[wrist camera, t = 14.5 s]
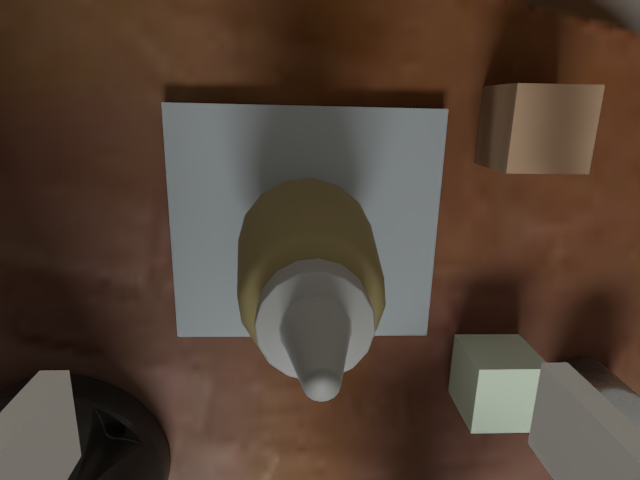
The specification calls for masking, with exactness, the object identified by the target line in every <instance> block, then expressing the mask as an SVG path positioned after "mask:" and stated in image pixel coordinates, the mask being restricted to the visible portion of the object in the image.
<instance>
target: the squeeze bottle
mask: <svg viewBox="0 0 640 480" xmlns="http://www.w3.org/2000/svg"><path fill="white" fill-rule="evenodd" d="M237 299H238V305H239V311H240V317H241V322H242V324H243V325H244V327H245V328H246V330H247V331H248V333H249V334H250V336H251V338H252V339H253V341H254V342H255V344H256V345H258V347H259V349H260V350H261V352H262V353H263V355H264V356H265V358H266V359H267V361H268V362H269V364H271V365H272V366H274V367H275V368H277V369H278V370H280V371H281V372H283V373H284V374H286V375H287V376H291V377H295V378H298V379H299V381H300V384H301V386H302V388H303V390H304V392H305V394H306V395H307V397H309V398H310V399H312V400H314V401H319V402H322V401H328V400H330V399H332V398H334V397H335V396H336V395H337V394H338V393H339V390H340V388H341V383H342V378H343V373H344V372H346V371H348V370H350V369H352V368H353V367H354V366H355V365H356V364H357V363H358V362H359V361H360V360H361V359H362V358H363V357H364V356H365V354H366V353H367V352H368V350H369V348H370V345H371V342H372V340H373V337H374V334H375V331H376V330H377V328H378V325H379V322H380V320H381V317H382V314H383V311H384V309H385V306H386V300H385V283H384V276H383V272H382V268H381V264H380V260H379V256H378V252H377V248H376V244H375V240H374V236H373V232H372V228H371V224H370V223H369V221H368V219H367V217H366V215H365V213H364V211H363V209H362V207H361V205H360V203H359V202H358V201H357V200H355V199H354V198H353V197H352V196H350V195H349V194H348V193H347V192H346V191H344V190H343V189H342V188H341V187H339V186H337V185H334V184H331V183H327V182H324V181H320V180H317V179H314V178H310V179H301V180H291V181H285V182H283V183H281V184H279V185H277V186H275V187H274V188H272V189H270V190H268V191H266V192H264V193H263V194H261V195H260V197H259V198H258V199H257V200H256V202H255V203H254V204H253V205H252V207H251V208H250V209H249V210H248V212H247V213H246V214H245V216H244V220H243V224H242V228H241V231H240V235H239V239H238V271H237Z"/></svg>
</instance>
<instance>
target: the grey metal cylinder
mask: <svg viewBox="0 0 640 480" xmlns="http://www.w3.org/2000/svg"><path fill="white" fill-rule="evenodd" d="M565 362H568V363H569V364H570V365H571V366H572V367H573V368H574V369H575V370H576V371H577V372H578V373H579V374H581V375H582V376H583V377H584V378H585V379H586V380H587V381H588V382H589V383H590V384H591V385H592V386H594V387H595V388H596V389H597V390H598V391H599V392H600V393H601V394H602V395H603V396H604V397H605V398H607V399H608V400H609V401H610V402H611V403H612V404H613V405H614V406H615V407H616V408H617V409H618V410H620V411H621V412H622V413H623V414H624V415H625V416H626V417H627V418H628V419H629V420H630V421H632V422H633V423H634V424H635V425H636V426H637V427H638V428H639V429H640V395H638V394H637V393H636V392H635V391H634V390H632V389H631V388H630V387H629V386H628V385H626V384H625V383H624V382H623V381H622V380H621V379H619V378H618V377H617V376H616V375H615V374H613V373H612V372H611V371H610V370H609V369H608V368H606V367H605V366H604V365H603V364H602V363H600V362H599V361H598V360H596V359H594V358H590V357H575V358H572V359H569V360H567V361H565Z"/></svg>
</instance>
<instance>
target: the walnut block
mask: <svg viewBox="0 0 640 480" xmlns="http://www.w3.org/2000/svg"><path fill="white" fill-rule="evenodd" d="M604 88H605V85H587V84H542V83H512V84H501V85H490V86H483V91H482V100H481V109H480V118H479V127H478V136H477V145H476V154H475V163H476V164H479V165H482V166H485V167H488V168H491V169H494V170H497V171H500V172H503V173H511V174H589V171H590V165H591V160H592V154H593V149H594V143H595V138H596V132H597V126H598V121H599V115H600V110H601V104H602V99H603V93H604Z"/></svg>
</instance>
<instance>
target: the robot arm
mask: <svg viewBox="0 0 640 480" xmlns="http://www.w3.org/2000/svg"><path fill="white" fill-rule="evenodd" d="M528 444H529V446H530V447H531V449H532V450H533V451H534V453H535V454H536V456H537V457H538V458H539V460H540V461H541V463H542V464H543V466H544V467H545V468H546V470H547V471H548V473H549V474H550V475H551V477H552V478H553V480H640V429H639V428H638V427H637V426H636V425H635V424H634V423H633V422H632V421H630V420H629V419H628V418H627V417H626V416H625V415H624V414H623V413H622V412H621V411H620V410H618V409H617V408H616V407H615V406H614V405H613V404H612V403H611V402H610V401H609V400H608V399H607V398H605V397H604V396H603V395H602V394H601V393H600V392H599V391H598V390H597V389H596V388H595V387H594V386H592V385H591V384H590V383H589V382H588V381H587V380H586V379H585V378H584V377H583V376H582V375H581V374H579V373H578V372H577V371H576V370H575V369H574V368H573V367H572V366H571V365H570V364H569V363H568V362H559V363H542V364H541V370H540V376H539V382H538V387H537V393H536V399H535V404H534V410H533V416H532V422H531V427H530V433H529V439H528ZM169 472H170V452H169V447H168V444H167V440H166V438H165V435H164V433H163V431H162V429H161V427H160V426H159V424H158V422H157V421H156V420H155V418H154V417H153V416H152V415H151V413H150V412H149V411H148V410H147V409H146V408H145V407H144V406H143V405H142V404H141V403H139V402H138V401H137V400H136V399H134V398H133V397H132V396H130V395H129V394H127V393H125V392H124V391H122V390H120V389H118V388H116V387H114V386H112V385H109V384H107V383H104V382H102V381H99V380H95V379H92V378H87V377H82V376H75V375H70V372H69V370H44V371H39V372H38V373H37V374H36V375H35V376H34V377H33V378H30V379H27V380H24V381H21V382H18V383H16V384H14V385H12V386H10V387H8V388H6V389H4V390H3V391H1V392H0V480H168V477H169Z"/></svg>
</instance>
